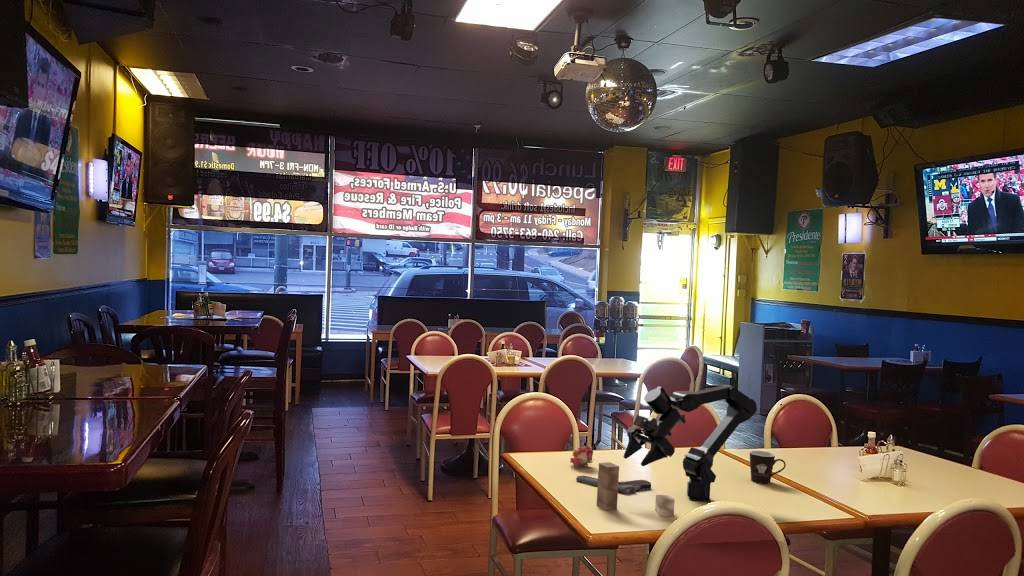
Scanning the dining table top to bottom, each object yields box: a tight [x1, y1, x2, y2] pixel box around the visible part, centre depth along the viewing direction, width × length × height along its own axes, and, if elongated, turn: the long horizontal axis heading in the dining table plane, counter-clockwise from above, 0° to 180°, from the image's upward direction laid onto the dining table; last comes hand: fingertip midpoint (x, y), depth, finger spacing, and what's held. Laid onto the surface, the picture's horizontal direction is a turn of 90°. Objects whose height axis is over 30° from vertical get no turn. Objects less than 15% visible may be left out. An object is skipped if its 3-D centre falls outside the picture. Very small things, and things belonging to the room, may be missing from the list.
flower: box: [569, 445, 594, 469], centre depth 267 cm, size 10×9×8 cm
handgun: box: [575, 475, 652, 494], centre depth 245 cm, size 3×22×14 cm
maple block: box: [654, 494, 676, 517], centre depth 217 cm, size 4×4×5 cm
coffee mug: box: [749, 450, 787, 485], centre depth 259 cm, size 12×9×10 cm
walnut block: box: [596, 461, 620, 512], centre depth 220 cm, size 4×5×13 cm
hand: (632, 461), depth 223 cm, fingers open, 9 cm apart
